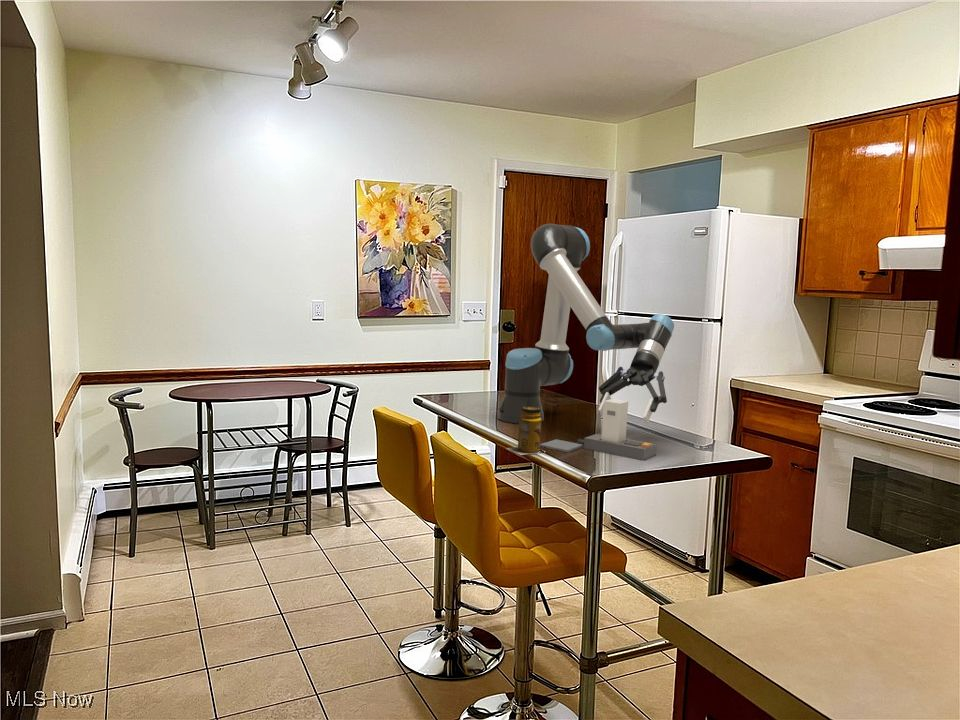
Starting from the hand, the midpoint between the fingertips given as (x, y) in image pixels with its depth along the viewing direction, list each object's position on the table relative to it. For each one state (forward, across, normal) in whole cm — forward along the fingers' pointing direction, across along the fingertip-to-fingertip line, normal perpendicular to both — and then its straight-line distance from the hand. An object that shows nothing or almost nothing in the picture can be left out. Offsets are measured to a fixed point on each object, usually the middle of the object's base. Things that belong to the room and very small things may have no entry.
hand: (622, 416), depth 200 cm
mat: (+13, +14, 0) cm, 19 cm away
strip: (+8, +1, -5) cm, 10 cm away
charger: (+7, +1, -4) cm, 8 cm away
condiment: (+21, +19, +8) cm, 29 cm away
